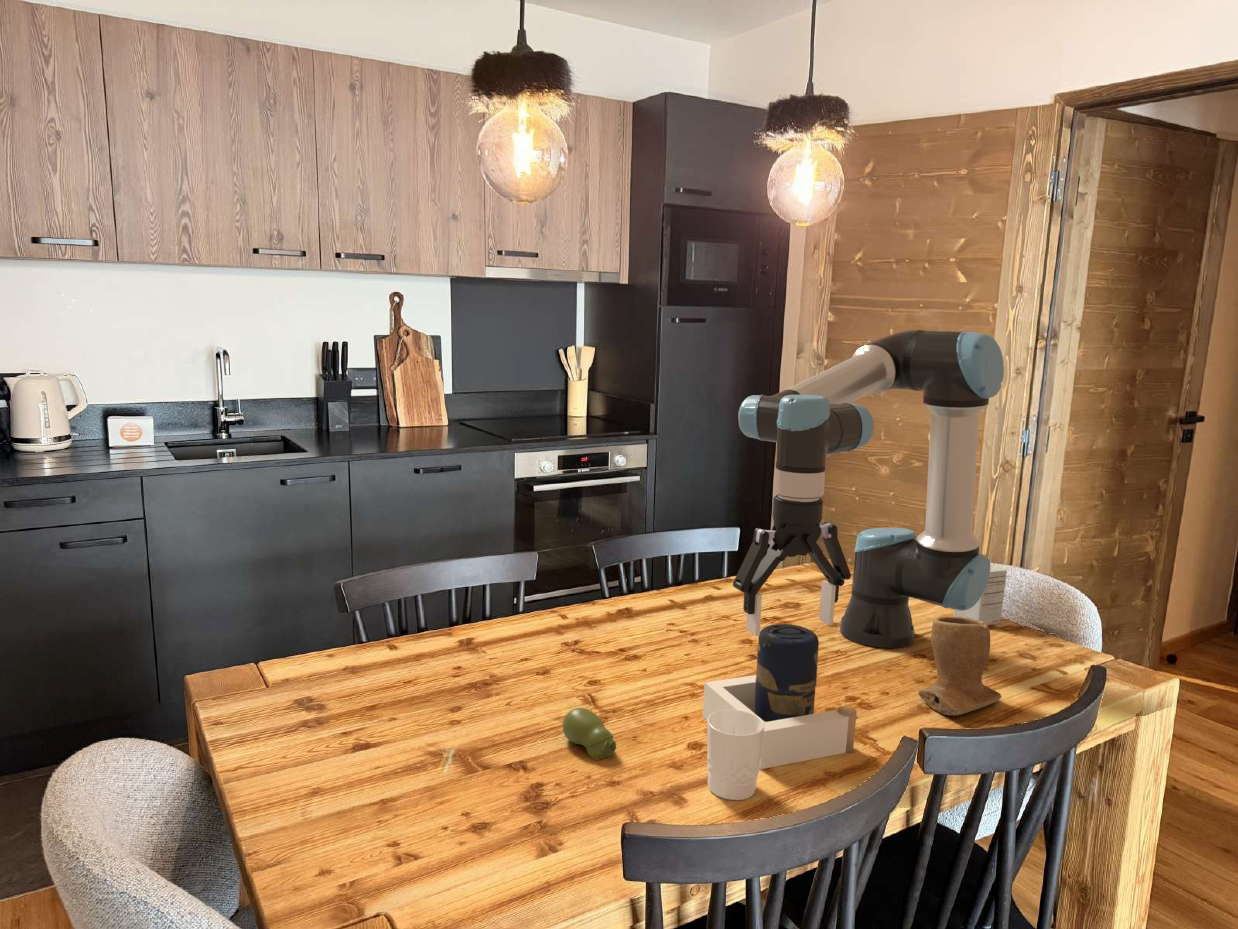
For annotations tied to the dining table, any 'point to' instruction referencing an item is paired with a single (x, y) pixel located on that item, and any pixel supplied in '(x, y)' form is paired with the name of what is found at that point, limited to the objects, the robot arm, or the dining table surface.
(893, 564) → the robot arm
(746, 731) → the white cup
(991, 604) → the supplement box
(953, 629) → the stone cup
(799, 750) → the bracket
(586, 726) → the pear
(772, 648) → the canister
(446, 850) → the dining table surface
